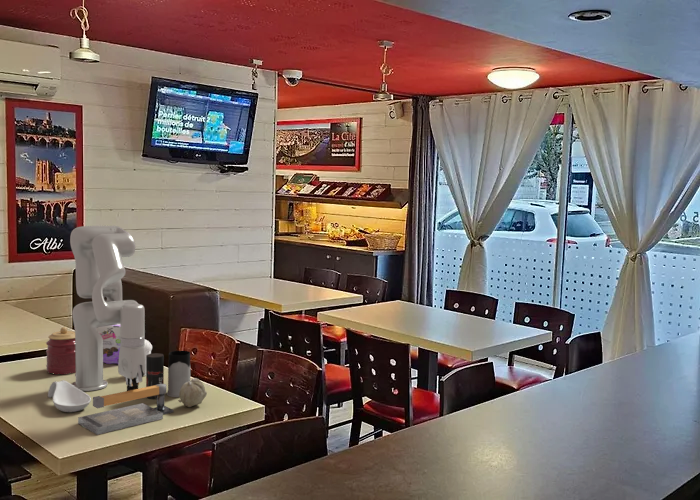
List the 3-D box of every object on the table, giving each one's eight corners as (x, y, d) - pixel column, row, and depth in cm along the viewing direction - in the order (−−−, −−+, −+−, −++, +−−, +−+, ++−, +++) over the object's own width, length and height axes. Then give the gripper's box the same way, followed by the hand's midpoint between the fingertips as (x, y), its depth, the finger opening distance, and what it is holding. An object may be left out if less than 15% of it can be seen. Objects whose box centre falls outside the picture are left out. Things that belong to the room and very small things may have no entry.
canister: (73, 375, 266) (73, 331, 264) (40, 374, 266) (39, 330, 264) (86, 367, 279) (86, 324, 277) (55, 366, 279) (54, 323, 277)
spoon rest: (96, 411, 226) (96, 390, 225) (60, 418, 218) (60, 396, 217) (70, 394, 243) (70, 374, 243) (35, 400, 235) (35, 380, 235)
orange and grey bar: (92, 405, 211) (92, 397, 211) (162, 390, 228) (162, 382, 228) (97, 408, 208) (97, 399, 208) (168, 393, 226) (168, 385, 226)
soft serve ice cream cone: (156, 374, 270) (156, 335, 269) (140, 379, 263) (140, 338, 262) (142, 371, 275) (142, 332, 273) (125, 375, 268) (125, 335, 266)
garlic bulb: (206, 402, 238) (206, 374, 237) (206, 410, 230) (207, 381, 229) (178, 403, 236) (178, 375, 235) (177, 411, 228) (178, 381, 227)
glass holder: (166, 397, 242) (166, 356, 240) (168, 386, 256) (168, 346, 254) (191, 396, 244) (191, 355, 242) (192, 385, 257) (192, 346, 256)
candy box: (91, 362, 285) (91, 324, 284) (99, 359, 291) (98, 321, 290) (122, 365, 283) (122, 326, 282) (129, 361, 289) (129, 323, 287)
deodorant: (158, 399, 239) (158, 357, 238) (143, 398, 240) (143, 356, 239) (166, 394, 245) (166, 354, 243) (151, 393, 246) (151, 352, 245)
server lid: (78, 423, 213) (78, 416, 213) (142, 408, 229) (142, 402, 228) (97, 434, 204) (97, 427, 204) (162, 418, 220) (162, 411, 219)
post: (147, 411, 226) (147, 393, 226) (163, 407, 231) (164, 389, 230) (157, 416, 222) (157, 397, 222) (173, 412, 226) (173, 394, 226)
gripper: (110, 339, 224) (110, 394, 225) (133, 347, 213) (133, 404, 215) (132, 336, 229) (131, 389, 231) (154, 344, 219) (154, 400, 220)
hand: (132, 396), depth 223 cm, fingers closed
